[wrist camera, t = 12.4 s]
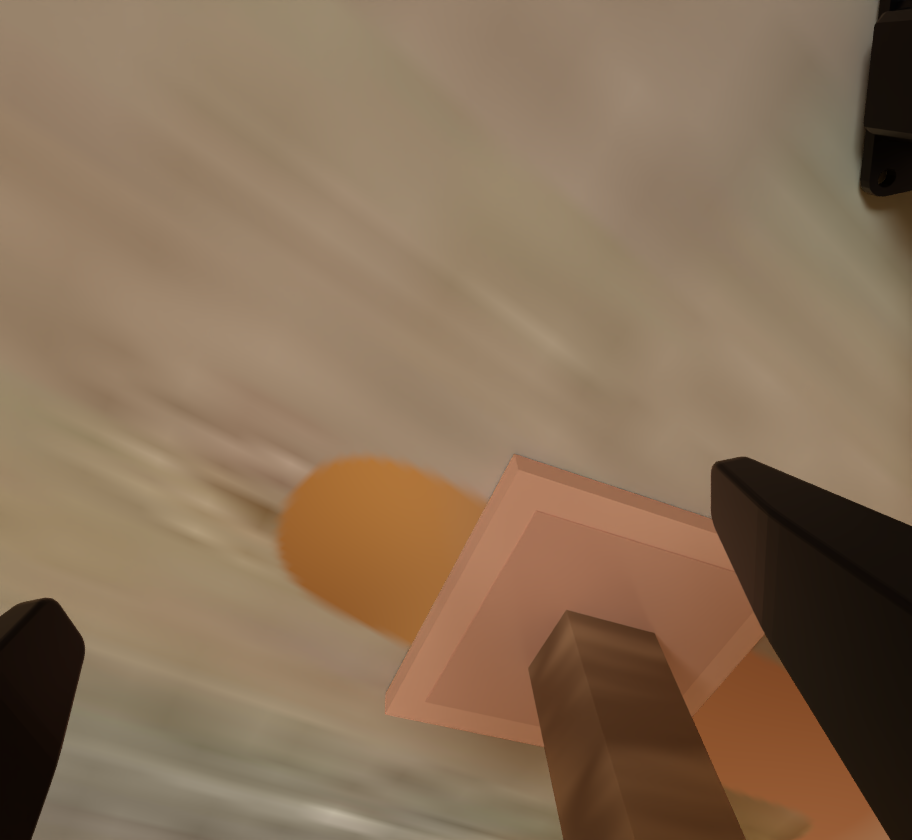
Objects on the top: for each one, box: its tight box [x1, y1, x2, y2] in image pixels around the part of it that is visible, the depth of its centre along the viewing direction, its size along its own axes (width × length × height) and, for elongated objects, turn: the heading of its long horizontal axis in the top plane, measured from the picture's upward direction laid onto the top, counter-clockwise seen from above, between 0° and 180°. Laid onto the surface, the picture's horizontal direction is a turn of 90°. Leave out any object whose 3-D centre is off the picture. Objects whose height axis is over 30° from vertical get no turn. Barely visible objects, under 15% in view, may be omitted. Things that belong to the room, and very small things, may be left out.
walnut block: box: [528, 610, 746, 840], centre depth 21 cm, size 3×4×11 cm
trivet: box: [385, 454, 765, 747], centre depth 26 cm, size 13×13×1 cm
